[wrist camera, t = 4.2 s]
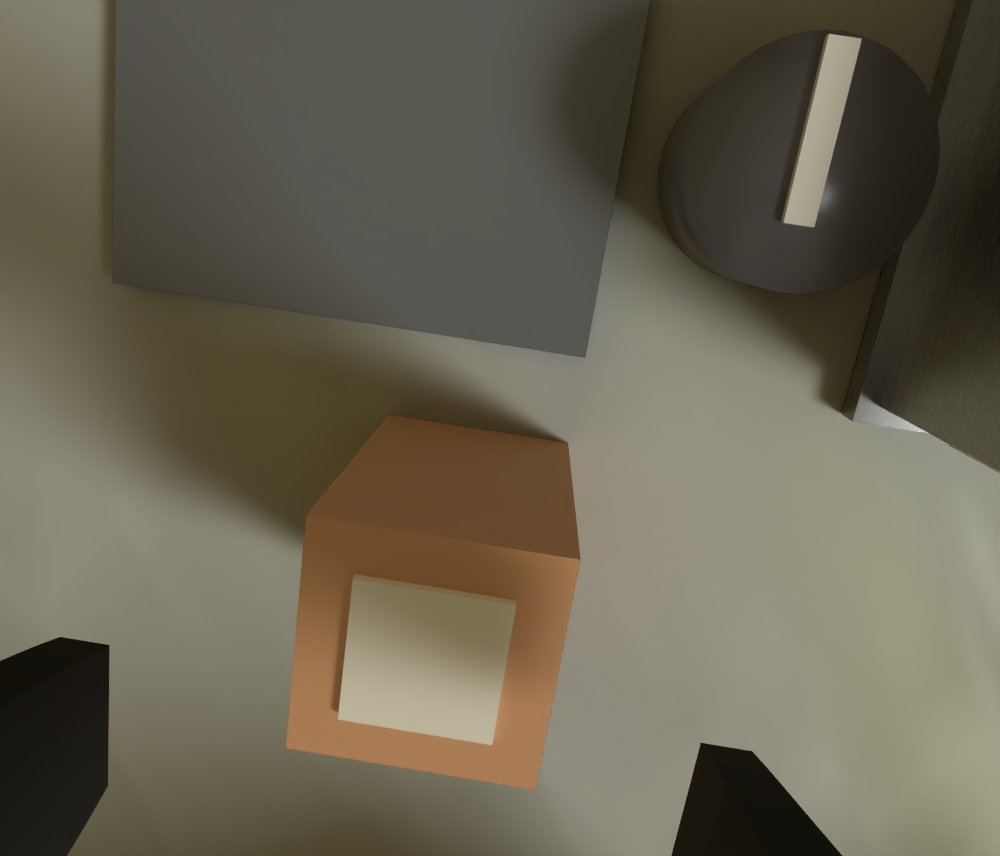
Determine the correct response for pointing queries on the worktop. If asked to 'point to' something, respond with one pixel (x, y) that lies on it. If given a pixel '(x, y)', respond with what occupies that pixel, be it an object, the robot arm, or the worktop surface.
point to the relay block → (436, 602)
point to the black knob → (802, 164)
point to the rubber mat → (376, 158)
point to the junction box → (946, 268)
